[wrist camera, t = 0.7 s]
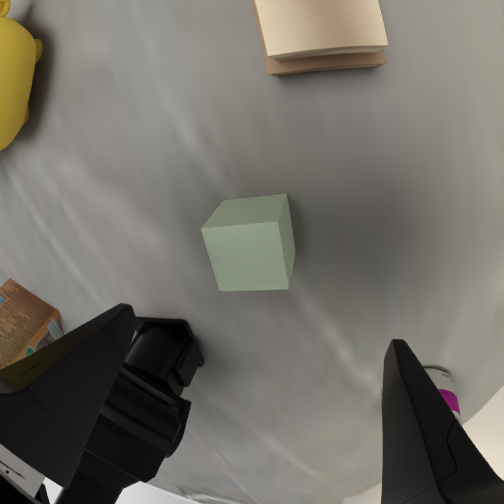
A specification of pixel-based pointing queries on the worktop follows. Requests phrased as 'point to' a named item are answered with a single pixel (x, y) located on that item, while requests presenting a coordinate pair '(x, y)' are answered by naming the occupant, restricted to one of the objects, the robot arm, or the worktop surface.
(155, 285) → the worktop surface
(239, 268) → the sage cube
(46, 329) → the milk carton
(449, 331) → the worktop surface
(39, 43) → the teapot
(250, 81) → the worktop surface
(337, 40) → the maple block
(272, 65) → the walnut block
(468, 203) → the worktop surface
